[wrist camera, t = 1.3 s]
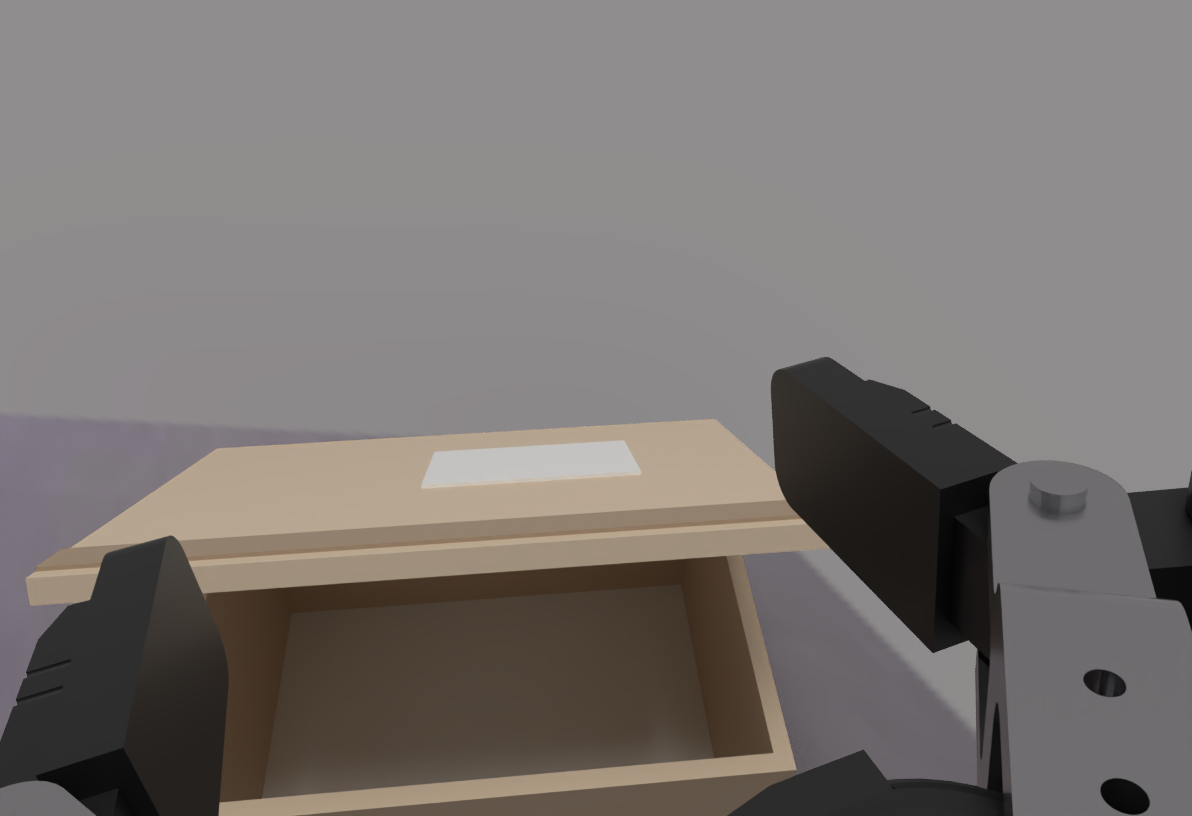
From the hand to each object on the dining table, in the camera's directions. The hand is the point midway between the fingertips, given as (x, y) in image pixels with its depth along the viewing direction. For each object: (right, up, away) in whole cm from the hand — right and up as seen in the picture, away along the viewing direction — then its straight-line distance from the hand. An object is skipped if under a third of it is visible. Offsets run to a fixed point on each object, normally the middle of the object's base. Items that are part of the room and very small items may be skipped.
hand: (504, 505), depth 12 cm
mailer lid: (-3, -1, +13) cm, 14 cm away
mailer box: (-3, -11, +22) cm, 24 cm away
